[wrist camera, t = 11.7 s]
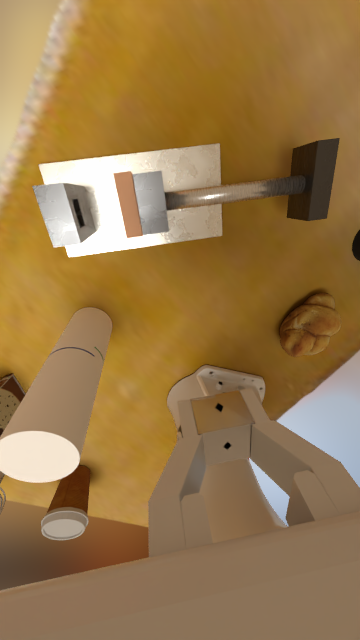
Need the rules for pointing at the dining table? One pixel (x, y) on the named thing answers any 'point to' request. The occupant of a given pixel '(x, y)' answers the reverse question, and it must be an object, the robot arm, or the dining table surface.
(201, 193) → the shaft
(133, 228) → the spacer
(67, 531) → the disposable coffee cup
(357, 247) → the wine bottle
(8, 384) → the food container
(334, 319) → the bread roll
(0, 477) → the french press
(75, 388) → the cylindrical container
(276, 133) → the dining table surface
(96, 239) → the shaft frame
